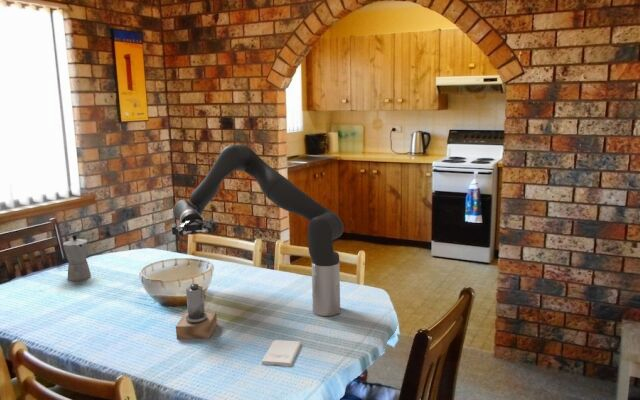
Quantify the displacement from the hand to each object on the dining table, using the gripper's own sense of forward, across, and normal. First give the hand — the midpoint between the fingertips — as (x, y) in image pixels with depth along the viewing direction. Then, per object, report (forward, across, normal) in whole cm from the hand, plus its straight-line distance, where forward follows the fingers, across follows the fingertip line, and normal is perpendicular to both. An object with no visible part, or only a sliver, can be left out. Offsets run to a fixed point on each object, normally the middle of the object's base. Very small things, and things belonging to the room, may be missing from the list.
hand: (195, 232), depth 170 cm
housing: (+10, -3, +25) cm, 27 cm away
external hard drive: (+34, +18, +30) cm, 49 cm away
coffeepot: (-59, -44, +28) cm, 79 cm away
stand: (+10, -3, +29) cm, 31 cm away
